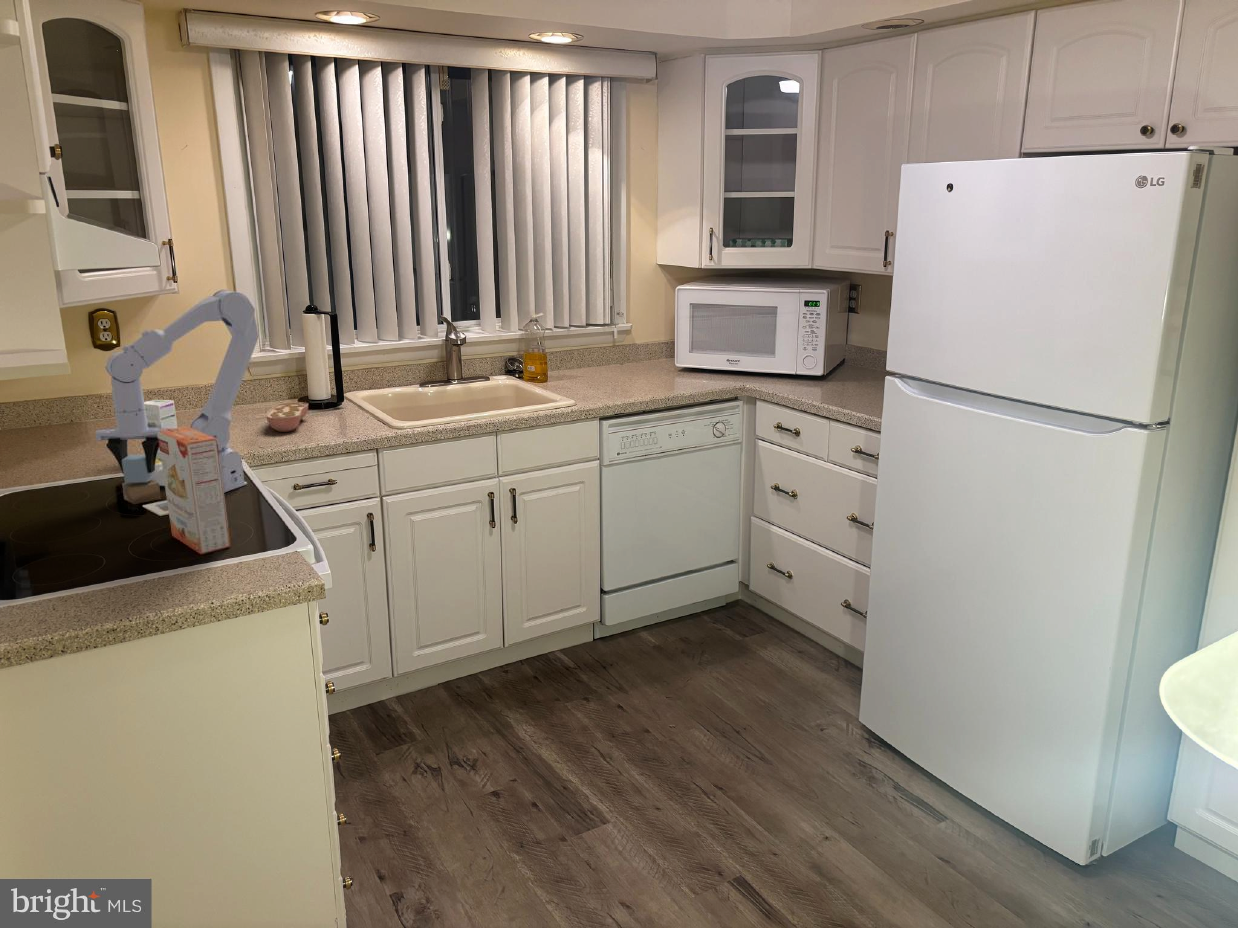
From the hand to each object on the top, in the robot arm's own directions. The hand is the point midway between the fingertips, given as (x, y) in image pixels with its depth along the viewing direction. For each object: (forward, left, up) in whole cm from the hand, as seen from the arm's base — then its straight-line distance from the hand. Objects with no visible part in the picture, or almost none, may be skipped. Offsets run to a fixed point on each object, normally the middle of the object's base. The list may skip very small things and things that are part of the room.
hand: (138, 472), depth 199 cm
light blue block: (0, 0, -2) cm, 2 cm away
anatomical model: (+20, -69, -6) cm, 73 cm away
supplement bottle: (+11, -12, -3) cm, 16 cm away
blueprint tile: (-10, +3, -6) cm, 12 cm away
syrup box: (+24, -29, -6) cm, 38 cm away
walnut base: (0, 0, -6) cm, 6 cm away
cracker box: (-33, +17, -6) cm, 38 cm away
